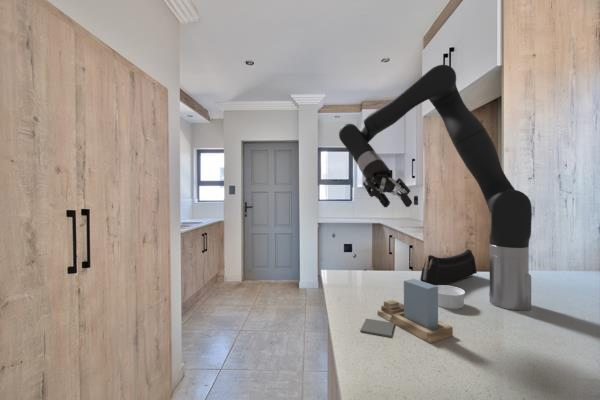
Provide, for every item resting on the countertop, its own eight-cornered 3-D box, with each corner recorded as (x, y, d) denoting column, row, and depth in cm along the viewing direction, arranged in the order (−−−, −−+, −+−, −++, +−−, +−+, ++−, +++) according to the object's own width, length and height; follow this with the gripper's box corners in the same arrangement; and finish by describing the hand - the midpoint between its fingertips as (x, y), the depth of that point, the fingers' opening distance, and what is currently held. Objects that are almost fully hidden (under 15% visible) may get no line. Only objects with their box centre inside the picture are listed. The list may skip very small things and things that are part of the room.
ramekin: (460, 313, 79) (460, 297, 79) (427, 305, 85) (427, 290, 85) (468, 303, 86) (468, 289, 86) (437, 296, 92) (437, 283, 92)
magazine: (471, 251, 117) (427, 235, 102) (480, 252, 114) (435, 237, 99) (465, 294, 115) (418, 284, 100) (473, 296, 112) (427, 287, 97)
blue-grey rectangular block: (404, 324, 72) (403, 280, 72) (414, 321, 74) (414, 278, 74) (427, 336, 66) (427, 288, 66) (438, 333, 68) (438, 286, 67)
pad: (394, 324, 72) (394, 323, 72) (391, 337, 66) (391, 335, 66) (366, 320, 75) (366, 318, 75) (360, 331, 69) (360, 330, 69)
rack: (377, 314, 78) (376, 301, 78) (397, 309, 82) (397, 296, 82) (430, 343, 63) (430, 326, 63) (452, 335, 66) (452, 320, 66)
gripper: (360, 157, 88) (386, 196, 78) (396, 160, 94) (424, 196, 85) (349, 175, 93) (373, 214, 83) (384, 177, 99) (409, 213, 89)
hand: (399, 205), depth 84 cm, fingers open, 8 cm apart
